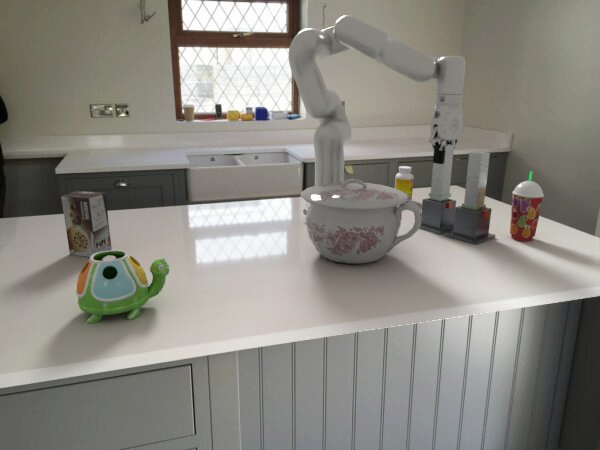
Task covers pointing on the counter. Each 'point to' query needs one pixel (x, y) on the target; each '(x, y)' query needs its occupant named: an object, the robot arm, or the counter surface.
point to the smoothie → (525, 210)
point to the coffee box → (86, 222)
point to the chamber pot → (356, 220)
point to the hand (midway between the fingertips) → (442, 162)
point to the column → (442, 176)
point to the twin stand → (474, 204)
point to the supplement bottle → (405, 181)
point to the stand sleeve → (438, 216)
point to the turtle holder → (117, 285)
